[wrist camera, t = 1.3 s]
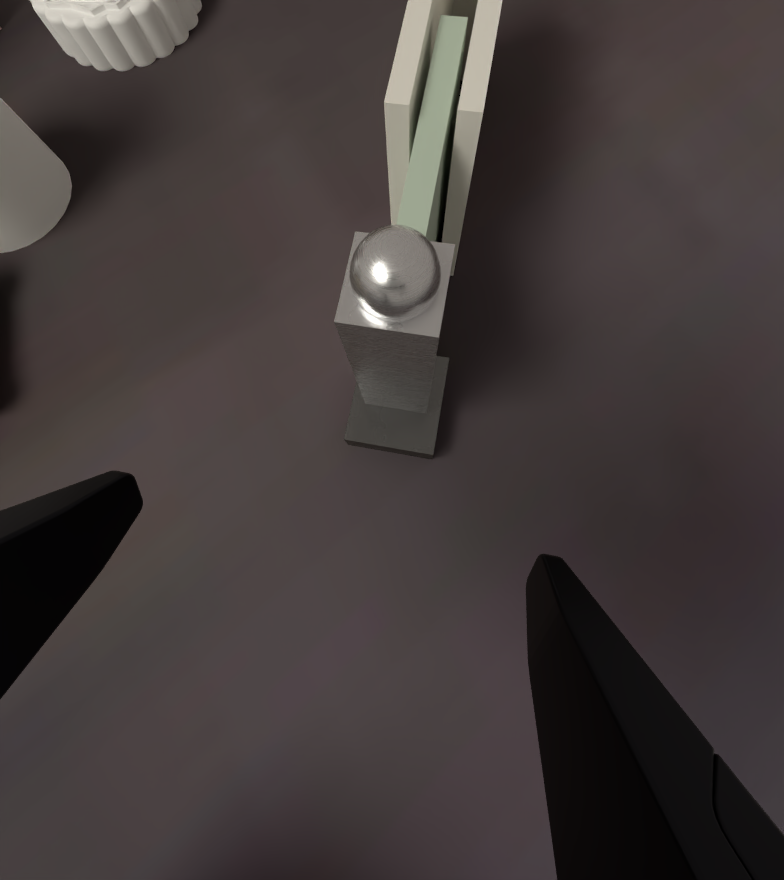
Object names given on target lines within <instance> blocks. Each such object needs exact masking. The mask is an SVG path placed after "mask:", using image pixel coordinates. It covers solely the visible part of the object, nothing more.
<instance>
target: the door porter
mask: <svg viewBox="0 0 784 880" xmlns="http://www.w3.org/2000/svg"><path fill="white" fill-rule="evenodd" d="M454 248H455V244H449V243H441V242H433V241H429V240H428V239H427V238H426V237H425V236H424V235H423V234H422V233H420V232H419V231H417V230H416V229H414V228H411V227H408V226H405V225H386V226H383V227H380V228H377V229H375V230H374V231H372V232H371V233H363V232H355V236H354V240H353V244H352V248H351V253H350V257H349V261H348V265H347V270H346V274H345V278H344V282H343V287H342V291H341V295H340V299H339V304H338V308H337V312H336V316H335V321H334V323H335V325H336V328H337V331H338V333H339V336H340V339H341V341H342V344H343V346H344V349H345V352H346V354H347V357H348V360H349V362H350V365H351V367H352V370H353V373H354V375H355V378H356V386H355V391H354V395H353V400H352V405H351V409H350V414H349V419H348V423H347V428H346V433H345V437H344V440H345V441H346V442H347V444H348V445H353V446H359V447H365V448H370V449H376V450H382V451H387V452H393V453H399V454H404V455H410V456H416V457H421V458H427V459H432V457H433V453H434V447H435V441H436V435H437V429H438V423H439V417H440V411H441V405H442V399H443V393H444V387H445V381H446V375H447V369H448V363H449V358H448V357H441V356H436V355H437V349H438V343H439V337H440V331H441V325H442V320H443V314H444V308H445V302H446V296H447V290H448V284H449V278H450V272H451V266H452V260H453V254H454Z"/></svg>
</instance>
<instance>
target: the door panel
mask: <svg viewBox="0 0 784 880" xmlns="http://www.w3.org/2000/svg"><path fill="white" fill-rule="evenodd" d="M467 20H468V17H459V16H447V15H441V16H440V20H439V25H438V30H437V35H436V39H435V44H434V49H433V54H432V58H431V63H430V68H429V72H428V77H427V82H426V87H425V91H424V96H423V101H422V106H421V110H420V115H419V120H418V125H417V129H416V134H415V139H414V143H413V148H412V153H411V158H410V162H409V167H408V172H407V177H406V181H405V186H404V191H403V196H402V200H401V205H400V210H399V214H398V219H397V224H396V225H405V226H408V227H411V228H414V229H416V230H417V231H419V232H420V233H422V234H423V235H424V236H425V237H426V238H427V239H428V240H429V241H433V242H438V240H439V235H440V229H441V224H442V218H443V213H444V207H445V202H446V197H447V191H448V182H449V174H450V165H451V157H452V148H453V140H454V131H455V123H456V114H457V105H458V97H459V88H460V80H461V71H462V63H463V54H464V46H465V37H466V29H467Z"/></svg>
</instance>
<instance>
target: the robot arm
mask: <svg viewBox="0 0 784 880" xmlns="http://www.w3.org/2000/svg"><path fill="white" fill-rule="evenodd" d="M142 506H143V499H142V496H141V494H140V491H139V488H138V485H137V482H136V480H135V477H134V476H133V475H132V474H130V473H125V472H120V471H109V472H106V473H104V474H101V475H98V476H95V477H92V478H90V479H87V480H84V481H81V482H79V483H76V484H73V485H70V486H68V487H65V488H62V489H59V490H57V491H54V492H51V493H48V494H46V495H43V496H40V497H37V498H35V499H32V500H29V501H26V502H23V503H21V504H18V505H15V506H12V507H10V508H7V509H4V510H1V511H0V699H1V698H2V697H3V695H4V694H5V693H6V691H7V690H8V689H9V688H10V686H11V685H12V684H13V683H14V681H15V680H16V679H17V678H18V676H19V675H20V674H21V672H22V671H23V670H24V669H25V667H26V666H27V665H28V664H29V662H30V661H31V660H32V659H33V657H34V656H35V655H36V653H37V652H38V651H39V650H40V648H41V647H42V646H43V645H44V643H45V642H46V641H47V640H48V638H49V637H50V636H51V635H52V633H53V632H54V631H55V629H56V628H57V627H58V626H59V624H60V623H61V622H62V621H63V619H64V618H65V617H66V616H67V614H68V613H69V612H70V610H71V609H72V608H73V607H74V605H75V604H76V603H77V602H78V600H79V599H80V598H81V597H82V595H83V594H84V593H85V591H86V590H87V589H88V588H89V586H90V585H91V584H92V583H93V581H94V580H95V579H96V577H97V576H98V575H99V573H100V572H101V571H102V569H103V568H104V566H105V565H106V563H107V562H108V561H109V559H110V557H111V556H112V554H113V553H114V551H115V550H116V548H117V547H118V545H119V544H120V542H121V541H122V539H123V537H124V536H125V534H126V533H127V531H128V530H129V528H130V527H131V525H132V524H133V522H134V521H135V519H136V517H137V516H138V514H139V513H140V511H141V509H142ZM526 610H527V648H528V666H529V675H530V683H531V690H532V697H533V705H534V712H535V719H536V726H537V734H538V741H539V748H540V756H541V763H542V770H543V778H544V785H545V792H546V800H547V807H548V814H549V822H550V829H551V836H552V844H553V851H554V858H555V866H556V873H557V880H784V834H783V833H782V832H781V831H780V830H779V828H778V827H777V826H776V825H775V823H774V822H773V821H772V820H771V819H770V817H769V816H768V815H767V814H766V812H765V811H764V810H763V809H762V808H761V806H760V805H759V804H758V803H757V802H756V800H755V799H754V798H753V797H752V795H751V794H750V793H749V792H748V791H747V789H746V788H745V787H744V786H743V784H742V783H741V782H740V781H739V779H738V778H737V777H736V776H735V774H734V773H733V772H732V771H731V769H730V768H729V767H728V766H727V764H726V763H725V762H724V761H723V759H722V758H721V757H720V756H719V755H718V754H714V749H713V747H712V746H711V745H710V743H709V742H708V741H707V739H706V738H705V737H704V736H703V734H702V733H701V732H700V731H699V729H698V728H697V727H696V726H695V724H694V723H693V722H692V721H691V719H690V718H689V717H688V716H687V714H686V713H685V712H684V711H683V709H682V708H681V707H680V706H679V704H678V703H677V702H676V701H675V699H674V698H673V697H672V696H671V694H670V693H669V692H668V690H667V689H666V688H665V687H664V685H663V684H662V683H661V682H660V680H659V679H658V678H657V677H656V675H655V674H654V673H653V672H652V670H651V669H650V668H649V667H648V665H647V664H646V663H645V662H644V660H643V659H642V658H641V657H640V655H639V654H638V653H637V652H636V650H635V649H634V648H633V647H632V645H631V644H630V643H629V641H628V640H627V639H626V638H625V636H624V635H623V634H622V633H621V631H620V630H619V629H618V628H617V626H616V625H615V624H614V623H613V621H612V620H611V619H610V618H609V616H608V615H607V614H606V613H605V611H604V610H603V609H602V608H601V606H600V605H599V604H598V603H597V601H596V600H595V599H594V597H593V596H592V595H591V594H590V592H589V591H588V590H587V589H586V587H585V586H584V585H583V584H582V582H581V581H580V580H579V579H578V577H577V576H576V575H575V574H574V572H573V571H572V570H571V569H570V567H569V566H568V565H567V564H566V562H565V561H564V560H563V559H562V558H560V557H558V556H553V555H547V554H540V555H539V556H538V558H537V559H536V562H535V564H534V566H533V568H532V570H531V572H530V574H529V576H528V579H527V583H526Z"/></svg>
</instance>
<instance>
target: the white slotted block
mask: <svg viewBox="0 0 784 880" xmlns="http://www.w3.org/2000/svg"><path fill="white" fill-rule="evenodd" d="M501 5H502V0H408V3H407V8H406V12H405V16H404V20H403V25H402V29H401V33H400V37H399V42H398V46H397V50H396V54H395V59H394V63H393V67H392V71H391V75H390V80H389V84H388V88H387V92H386V97H385V101H384V109H385V126H386V142H387V159H388V176H389V192H390V209H391V225H396V224H397V219H398V214H399V210H400V205H401V200H402V196H403V191H404V186H405V181H406V177H407V172H408V167H409V162H410V158H411V153H412V148H413V143H414V139H415V134H416V129H417V125H418V120H419V115H420V110H421V106H422V101H423V96H424V91H425V87H426V82H427V77H428V72H429V68H430V63H431V58H432V54H433V49H434V44H435V39H436V35H437V30H438V25H439V20H440V16H441V15H447V16H459V17H468V20H467V29H466V37H465V46H464V54H463V63H462V71H461V80H463V83H462V88H461V93H460V99H459V104H458V109H457V118H456V126H455V134H454V143H453V151H452V160H451V168H450V177H449V185H448V194H447V202H446V211H445V219H444V227H443V236H442V243H449V244H455V248H454V254H453V260H452V266H451V272H450V276H453V275H454V270H455V264H456V259H457V253H458V248H459V242H460V237H461V231H462V226H463V220H464V215H465V210H466V204H467V199H468V193H469V188H470V182H471V177H472V171H473V166H474V160H475V155H476V149H477V144H478V138H479V133H480V127H481V122H482V116H483V111H484V105H485V99H486V93H487V87H488V82H489V76H490V70H491V64H492V58H493V52H494V46H495V40H496V35H497V29H498V23H499V17H500V11H501Z"/></svg>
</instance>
